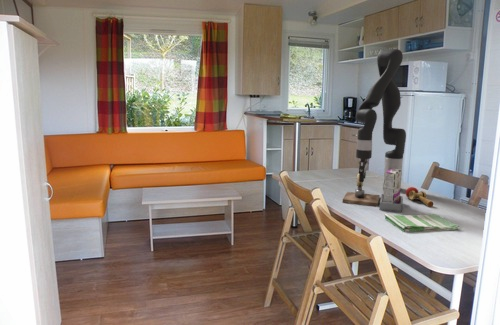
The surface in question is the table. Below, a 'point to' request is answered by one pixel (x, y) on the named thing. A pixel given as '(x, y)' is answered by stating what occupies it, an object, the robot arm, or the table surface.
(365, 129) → the robot arm
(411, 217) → the dish towel
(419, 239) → the table surface
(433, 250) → the table surface
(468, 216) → the table surface
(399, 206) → the tray
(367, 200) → the crank base
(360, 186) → the crank
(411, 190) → the kendama
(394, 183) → the candy bar box
